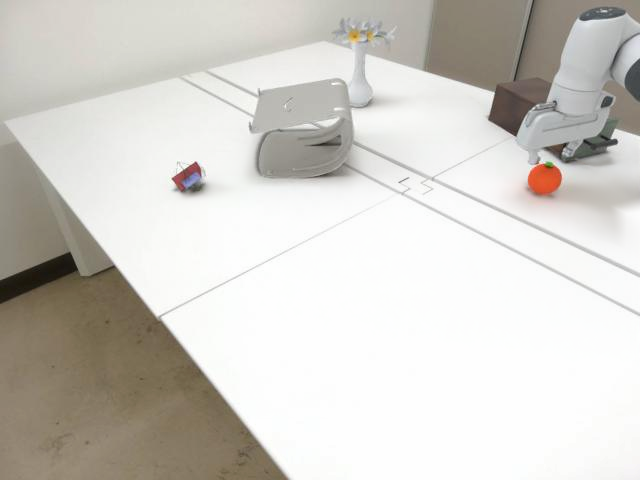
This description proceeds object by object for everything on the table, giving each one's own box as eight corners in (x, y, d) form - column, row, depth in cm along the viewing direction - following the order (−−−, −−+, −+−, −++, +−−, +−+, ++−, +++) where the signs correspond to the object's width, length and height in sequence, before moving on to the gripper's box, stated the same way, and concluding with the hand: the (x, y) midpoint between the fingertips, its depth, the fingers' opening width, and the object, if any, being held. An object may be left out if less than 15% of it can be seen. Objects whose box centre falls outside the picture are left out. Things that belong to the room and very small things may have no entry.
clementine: (524, 179, 108) (533, 152, 104) (556, 185, 106) (566, 158, 102) (523, 197, 102) (532, 169, 98) (556, 203, 100) (567, 175, 96)
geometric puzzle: (172, 194, 100) (187, 162, 98) (161, 180, 104) (176, 149, 102) (200, 202, 105) (215, 172, 103) (189, 189, 109) (203, 159, 107)
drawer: (619, 159, 114) (634, 126, 108) (578, 169, 110) (591, 135, 105) (559, 127, 128) (570, 96, 123) (521, 135, 124) (531, 104, 119)
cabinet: (569, 134, 127) (583, 97, 120) (527, 143, 122) (539, 105, 116) (527, 112, 139) (538, 77, 132) (488, 119, 134) (496, 84, 128)
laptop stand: (352, 179, 109) (355, 117, 99) (253, 179, 108) (246, 118, 99) (346, 131, 128) (348, 76, 119) (262, 132, 128) (258, 77, 119)
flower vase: (393, 109, 141) (402, 21, 125) (334, 112, 139) (335, 24, 123) (382, 93, 151) (390, 10, 135) (327, 96, 149) (328, 13, 133)
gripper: (542, 111, 85) (521, 175, 94) (623, 96, 91) (596, 158, 100) (519, 99, 90) (501, 161, 98) (597, 86, 96) (574, 145, 104)
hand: (549, 160), depth 99 cm, fingers open, 8 cm apart
